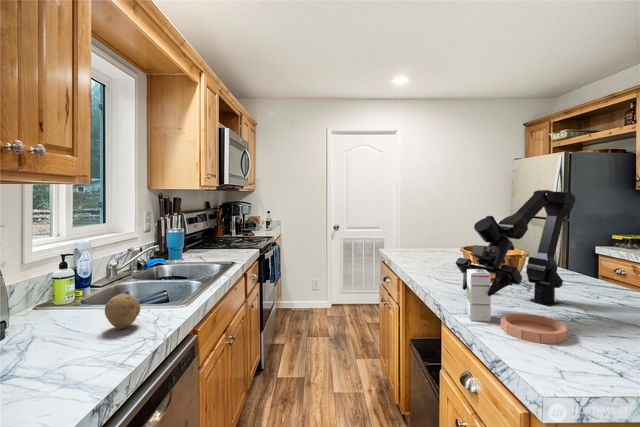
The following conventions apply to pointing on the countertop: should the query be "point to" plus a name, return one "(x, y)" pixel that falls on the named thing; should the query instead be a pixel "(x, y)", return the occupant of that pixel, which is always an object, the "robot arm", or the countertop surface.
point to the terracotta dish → (534, 328)
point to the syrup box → (478, 295)
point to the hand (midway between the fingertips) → (475, 292)
